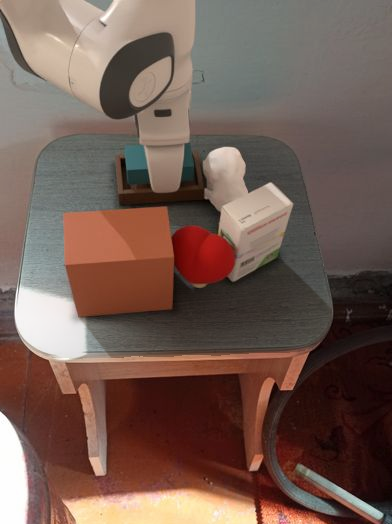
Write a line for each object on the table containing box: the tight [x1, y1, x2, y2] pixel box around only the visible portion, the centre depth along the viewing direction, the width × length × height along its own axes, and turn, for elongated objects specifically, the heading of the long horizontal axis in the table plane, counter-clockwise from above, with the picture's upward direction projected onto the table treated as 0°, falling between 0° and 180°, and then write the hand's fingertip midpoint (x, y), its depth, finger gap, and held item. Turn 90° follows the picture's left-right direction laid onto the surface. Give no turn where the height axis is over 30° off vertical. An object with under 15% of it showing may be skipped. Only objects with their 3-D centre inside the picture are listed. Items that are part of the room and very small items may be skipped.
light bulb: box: [171, 224, 235, 289], centre depth 76 cm, size 9×7×10 cm
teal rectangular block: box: [123, 142, 194, 185], centre depth 86 cm, size 10×5×3 cm, turn 98°
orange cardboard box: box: [62, 206, 175, 318], centre depth 74 cm, size 13×8×12 cm, turn 97°
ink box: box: [217, 182, 294, 283], centre depth 78 cm, size 8×5×12 cm, turn 125°
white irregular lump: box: [202, 146, 249, 225], centre depth 84 cm, size 6×8×12 cm
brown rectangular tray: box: [114, 150, 205, 206], centre depth 88 cm, size 13×8×2 cm, turn 97°
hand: (158, 167), depth 86 cm, fingers closed on teal rectangular block, 5 cm apart
